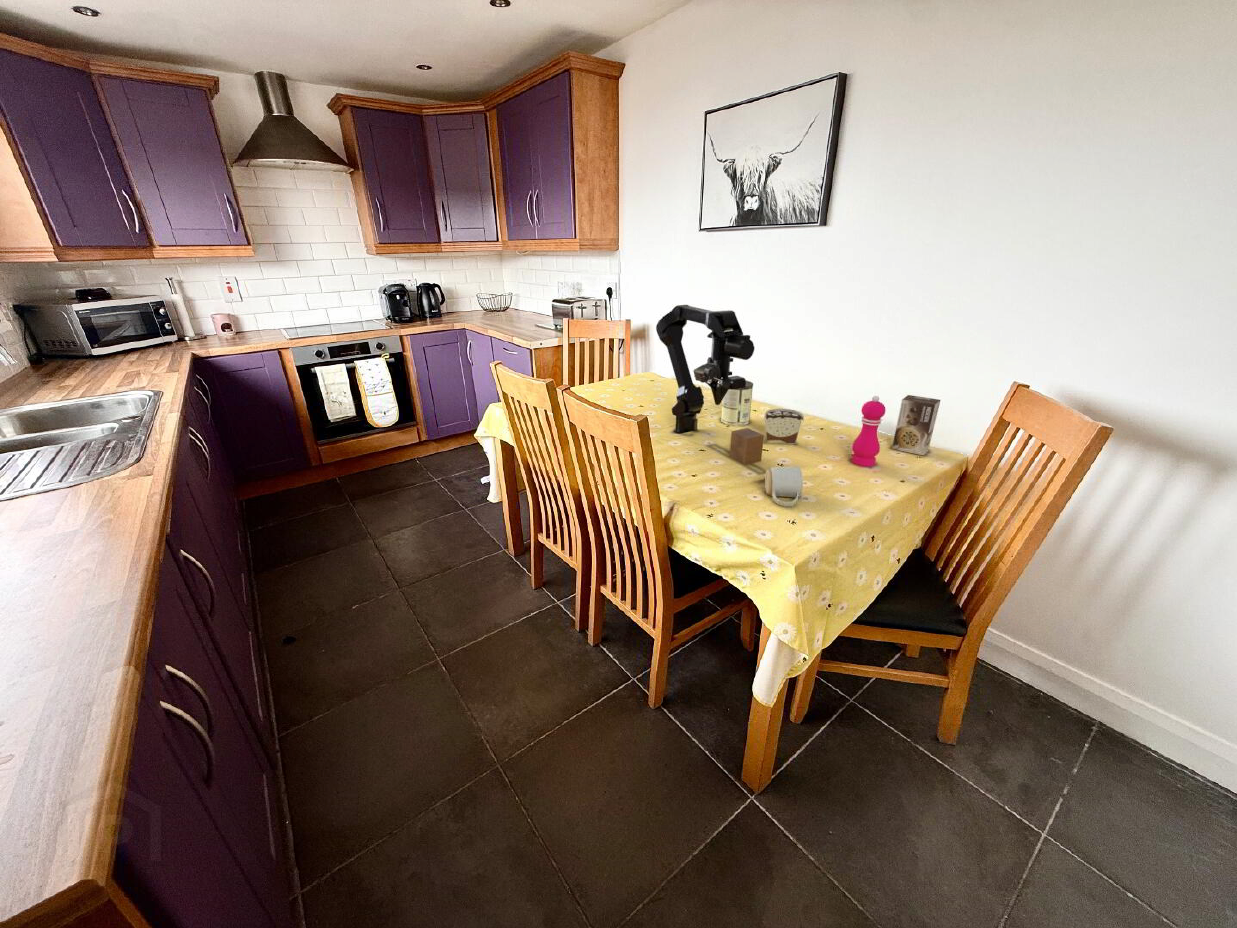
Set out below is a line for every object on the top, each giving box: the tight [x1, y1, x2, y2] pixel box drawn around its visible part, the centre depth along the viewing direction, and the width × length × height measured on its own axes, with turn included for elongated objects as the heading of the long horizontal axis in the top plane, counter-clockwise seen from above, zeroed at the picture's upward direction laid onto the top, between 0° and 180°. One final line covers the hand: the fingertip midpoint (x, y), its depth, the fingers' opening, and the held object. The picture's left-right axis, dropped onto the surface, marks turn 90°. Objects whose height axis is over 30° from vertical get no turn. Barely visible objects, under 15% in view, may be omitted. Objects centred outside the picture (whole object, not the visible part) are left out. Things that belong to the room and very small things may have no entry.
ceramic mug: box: [764, 466, 804, 508], centre depth 124 cm, size 11×8×8 cm
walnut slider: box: [728, 427, 765, 466], centre depth 144 cm, size 7×6×8 cm
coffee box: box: [891, 394, 941, 456], centre depth 151 cm, size 9×6×16 cm
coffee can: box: [720, 380, 754, 426], centre depth 179 cm, size 10×10×14 cm
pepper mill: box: [851, 395, 886, 467], centre depth 142 cm, size 7×7×20 cm
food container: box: [763, 408, 805, 445], centre depth 161 cm, size 12×6×10 cm, turn 84°
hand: (717, 404), depth 156 cm, fingers closed
